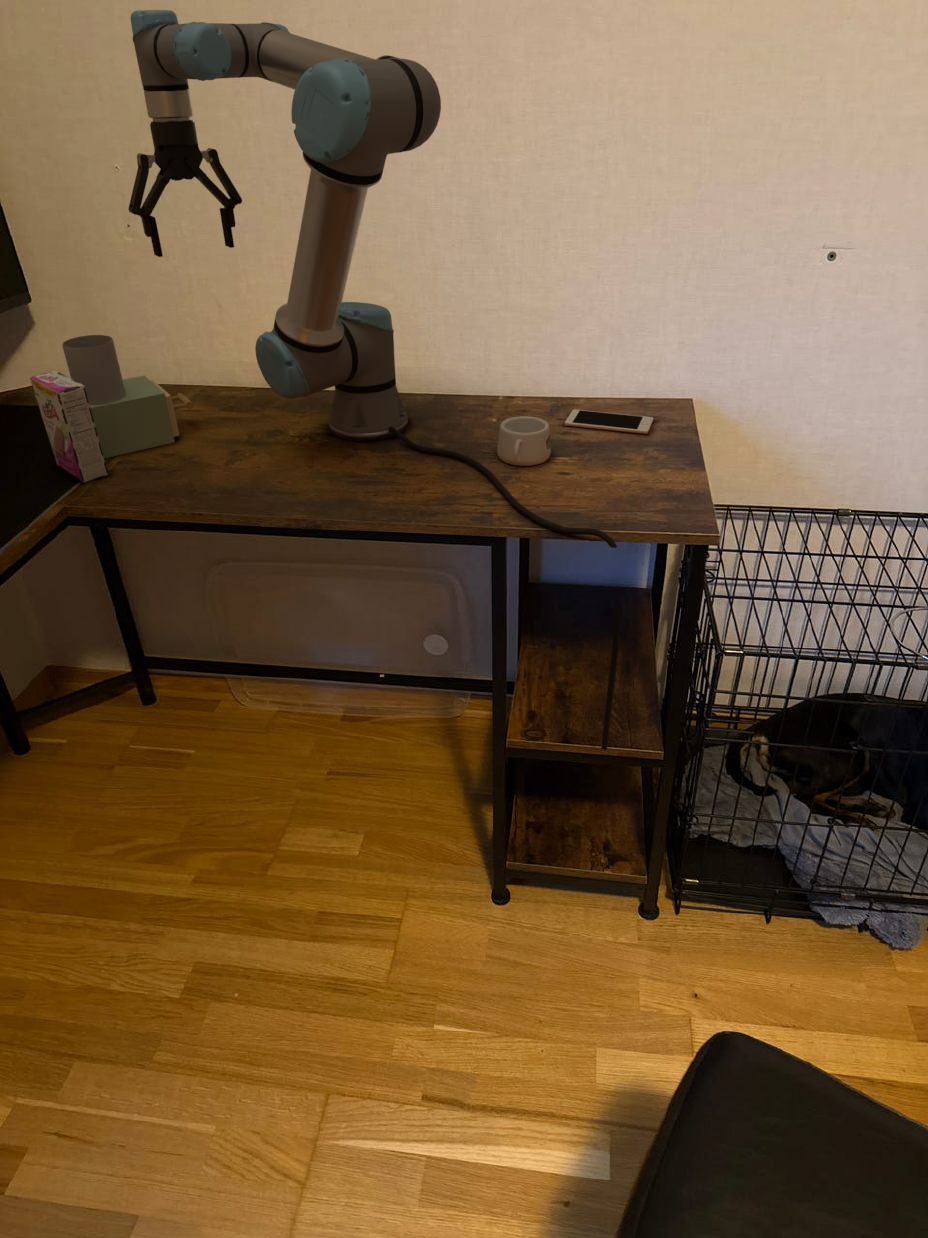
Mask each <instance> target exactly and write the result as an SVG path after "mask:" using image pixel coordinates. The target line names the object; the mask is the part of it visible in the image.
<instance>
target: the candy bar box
mask: <svg viewBox="0 0 928 1238" xmlns="http://www.w3.org/2000/svg"><path fill="white" fill-rule="evenodd" d="M29 380H30V383H31V386H32V390H33V392H34V396H35V399H36V402H37V405H38V409H39V413H40V416H41V419H42V421H43V424H44V428H45V430H46V434H47V438H48V441H49V444H50V448H51V450H52V454H53V457H54V460H55V464H56V466H57V467H59V468H61V469H62V470H64V471H65V472H66V473H68V474H70V475H71V476H73V477H74V478H76V479H77V480H79V481H80V482H82V483H83V484H85V483H89V482H92V481H95V480H97V479H101V478H104V477H107V476H109V472H108V468H107V464H106V459H105V458H104V456H103V452H102V449H101V445H100V442H99V438H98V434H97V431H96V427H95V423H94V419H93V416H92V412H91V408H90V405H89V401H88V398H87V394H86V390H85V386H84V385H82V384H80V383H78V382H76V381H75V380H73V379H71V377H70V376H67V375H65V374H63V373H61V372H60V371H57V370H53V371H50V372H44V373H40V374H35V375H33V376H30V377H29Z"/></svg>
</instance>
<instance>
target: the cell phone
mask: <svg viewBox="0 0 928 1238" xmlns="http://www.w3.org/2000/svg"><path fill="white" fill-rule="evenodd" d="M653 422H654V417H653V416H647V415H646V416H645V415H637V414H636V415H635V414H626V413H617V412H616V413H615V412H605V411H597V410H587V409H585V410H584V409H574V408H573V409H572V411H570V413H569V415H568V417H567V418H566V420H564V426H568V427H578V428H588V429H595V430H596V429H597V430H604V431H605V430H607V431H615V432H625V433H634V434H644V435H647V434H649V432H650V429H651V427H652V426H653V425H652V424H653Z"/></svg>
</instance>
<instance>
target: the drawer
mask: <svg viewBox="0 0 928 1238" xmlns="http://www.w3.org/2000/svg"><path fill="white" fill-rule="evenodd" d="M149 380H150V381H151V382H152V383H154V384H155V385H156V386H157V387H158V388H159V389H160V390H162V391H163V392H164V393H165V398H166V402H167V407H168V412H169V416H170V421H171V426H172V430H173V435H174V438H175V437H179V436H180V432H179V427H178V423H177V416H176V412H175V410H179V409H184V408H187V409H193V407H194V402H193V401H192V400H190V399H189V398H188V397H187V396H185V394H183V393H182V392H178V393H177V394H176V395H175V396H172V395H171V394H170V393H168V392H167V391H166V390H165V389H164V388H163V387H162V386H161V385H159V384H158V383H157V382H156V381H155V380H154V379H149ZM173 401H179V402H180V404H179V403H178V404H175V405H174V403H173Z"/></svg>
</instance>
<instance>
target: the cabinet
mask: <svg viewBox="0 0 928 1238" xmlns="http://www.w3.org/2000/svg"><path fill="white" fill-rule="evenodd" d="M122 379H123V384H124V388H125V392H126V395H125V397H124V398H122V399H121V400H118V401H115V402H112V403H108V404H101V405H90V408H91V412H92V416H93V419H94V423H95V427H96V431H97V434H98V438H99V442H100V445H101V449H102V452H103V456H104V459H108V458H113V457H117V456H121V455H126V454H129V453H134V452H139V451H143V450H147V449H152V448H156V447H162V446H164V445H170V444H173V443H176V441H175V440H176V439H175V437H174V435H173V430H172V426H171V421H170V416H169V412H168V407H167V402H166V398H165V393H164V392H163V391H162V390H160V389H159V388H158V387H157V386H156V385H155V384H154V383H152V382H151V381H150V380H151V379H149V378H148V377H147V376H146V375H140V376H134V377H128V378H122Z"/></svg>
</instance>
